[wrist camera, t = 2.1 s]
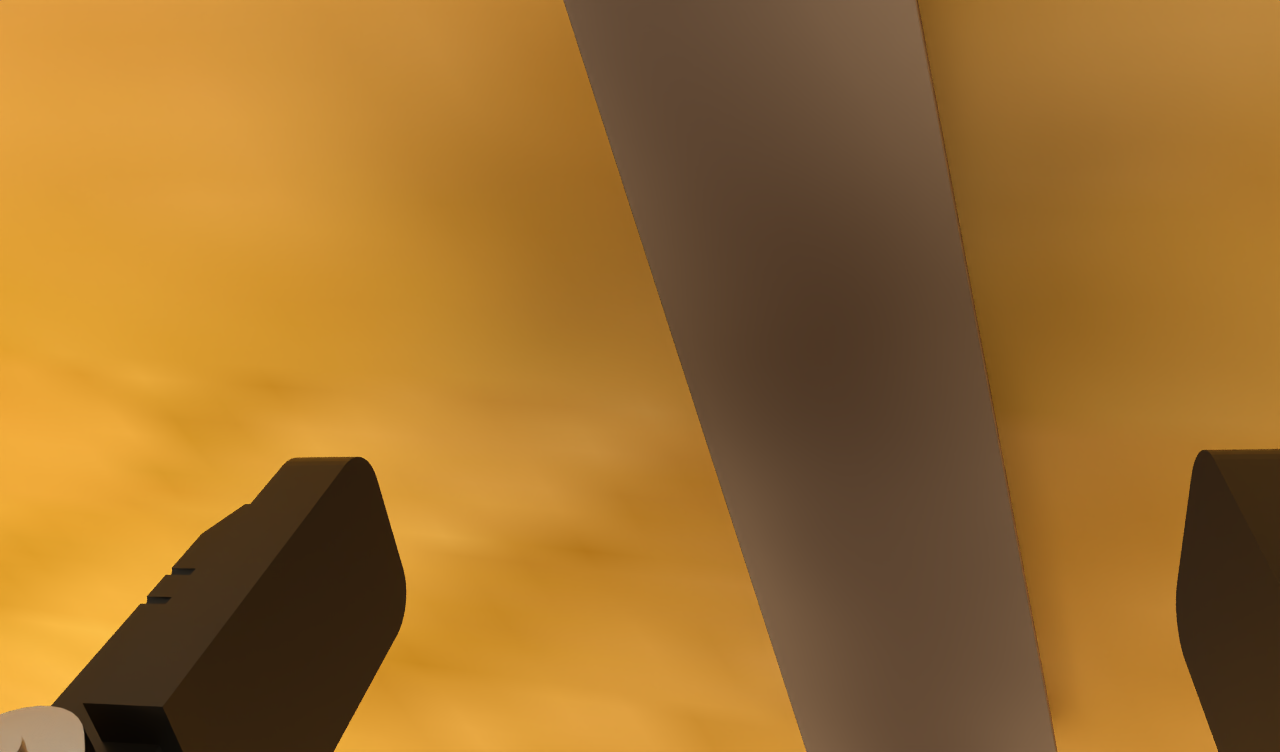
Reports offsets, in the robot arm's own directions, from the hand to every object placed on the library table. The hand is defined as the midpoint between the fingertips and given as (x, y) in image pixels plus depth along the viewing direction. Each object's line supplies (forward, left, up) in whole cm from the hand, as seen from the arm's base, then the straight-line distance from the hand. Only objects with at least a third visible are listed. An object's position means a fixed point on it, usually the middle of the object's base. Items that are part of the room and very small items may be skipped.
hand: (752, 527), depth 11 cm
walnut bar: (0, 0, -9) cm, 9 cm away
